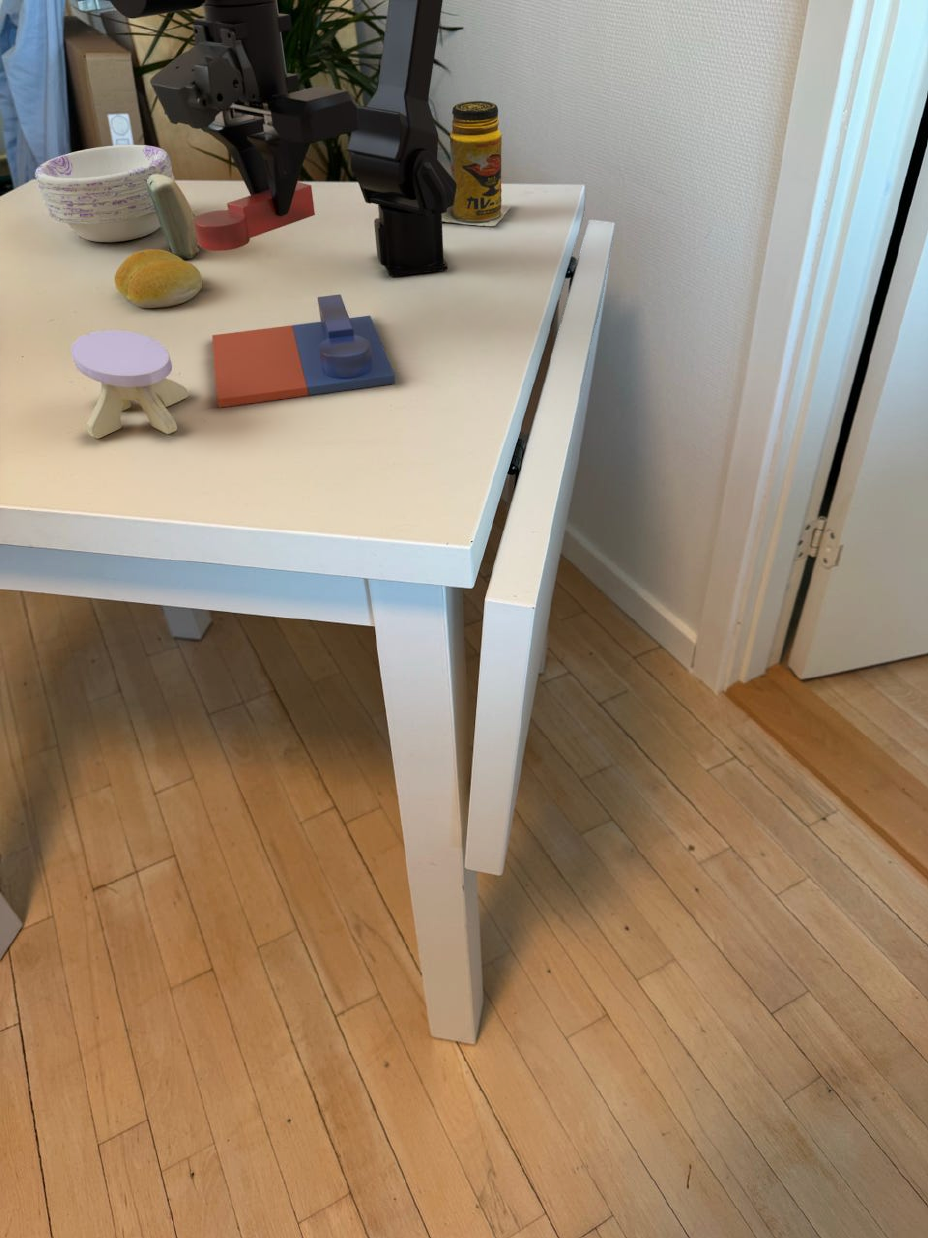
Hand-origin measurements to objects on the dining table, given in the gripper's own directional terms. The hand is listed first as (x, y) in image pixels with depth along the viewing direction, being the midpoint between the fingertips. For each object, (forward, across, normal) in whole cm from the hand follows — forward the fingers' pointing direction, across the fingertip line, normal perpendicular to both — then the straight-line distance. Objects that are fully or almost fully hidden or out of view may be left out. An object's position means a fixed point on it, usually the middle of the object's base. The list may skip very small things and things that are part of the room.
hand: (273, 212), depth 79 cm
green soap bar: (+10, -25, +6) cm, 28 cm away
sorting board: (+10, +7, -5) cm, 14 cm away
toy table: (+10, +4, -20) cm, 23 cm away
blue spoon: (+9, +10, -2) cm, 14 cm away
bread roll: (+10, -17, -3) cm, 20 cm away
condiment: (+10, -6, +35) cm, 37 cm away
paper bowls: (+10, -37, +6) cm, 39 cm away
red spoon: (+1, 0, -2) cm, 2 cm away
